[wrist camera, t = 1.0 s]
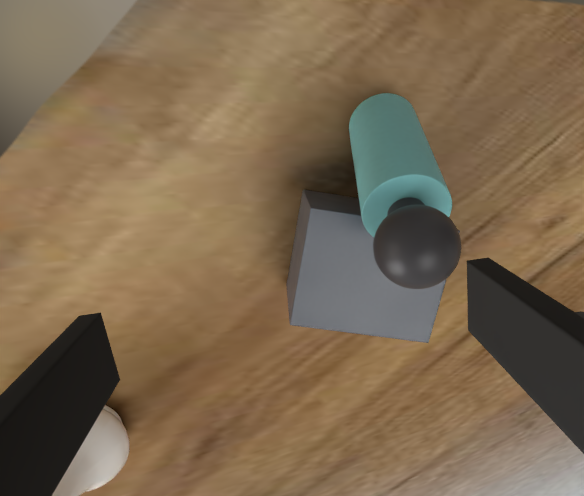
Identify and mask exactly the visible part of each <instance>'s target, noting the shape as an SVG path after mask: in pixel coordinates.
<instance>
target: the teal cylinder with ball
mask: <svg viewBox="0 0 584 496" xmlns="http://www.w3.org/2000/svg"><path fill="white" fill-rule="evenodd" d="M349 135H350V141H351V148H352V155H353V162H354V169H355V175H356V182H357V189H358V196H359V202H360V209H361V216H362V221H363V224H364V227H365V228H366V230H367V231H368V233H369V234H370V235H371V236H373V237H374V241H373V252H374V257H375V261H376V263H377V265H378V267H379V269H380V271H381V272H382V273H383V274H384V275H385V276H386V277H387V278H388V279H389V280H390V281H392V282H393V283H395V284H397V285H399V286H402V287H405V288H410V289H425V288H429V287H433V286H435V285H437V284H439V283H441V282H442V281H444V280H445V279H446V278H448V277H449V276H450V274H451V273H452V272H453V271H454V269H455V268H456V266H457V264H458V261H459V258H460V254H461V240H460V235H459V232H458V230H457V228H456V226H455V224H454V223H453V222H452V220H451V219H450V218H449V216H450V213H451V210H452V199H451V195H450V193H449V190H448V188H447V186H446V183H445V181H444V179H443V176H442V174H441V172H440V169H439V167H438V164H437V162H436V160H435V157H434V155H433V153H432V150H431V148H430V146H429V143H428V141H427V139H426V136H425V134H424V132H423V129H422V127H421V125H420V122H419V120H418V118H417V115H416V113H415V111H414V108H413V107H412V105H411V104H410V103H409V102H408V101H407V100H406V99H405V98H403V97H401V96H399V95H396V94H391V93H383V94H377V95H374V96H372V97H369V98H368V99H366V100H364V101H363V102H362V103H361V104H360V105H359V106H358V107H357V108H356V109H355V111H354V112H353V114H352V116H351V119H350V123H349Z"/></svg>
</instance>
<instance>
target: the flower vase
mask: <svg viewBox="0 0 584 496" xmlns="http://www.w3.org/2000/svg"><path fill="white" fill-rule="evenodd" d="M129 450H130V446H129V437H128V434H127V431H126V428H125V427H124V425H123V423H122V420H121V418H120V416H119V415H118V414H117V412H115V411H114V410H113V409H112V408H110V407H108V406H106V405H105V406H104V408H103V410H102V411H101V413H100V415H99V416H98V418H97V420H96V421H95V423H94V425H93V427H92V428H91V430H90V432H89V433H88V435H87V437H86V438H85V440H84V442H83V444H82V445H81V447H80V449H79V450H78V452H77V454H76V455H75V457H74V459H73V461H72V462H71V464H70V466H69V467H68V469H67V471H66V472H65V474H64V476H63V478H62V479H61V481H60V483H59V484H58V486H57V488H56V489H55V491H54V493H53V495H52V496H80V495H81V494H82V493H84V492H86V491H91V490H94V489H96V488H99V487H101V486H103V485H105V484H106V483H108V482H109V481H110V480H112V479H113V478H114V477H115V476H116V475H117V474H118V473H119V472H120V470H121V469H122V467H123V466H124V465H125V463H126V461H127V458H128V454H129Z"/></svg>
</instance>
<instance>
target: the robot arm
mask: <svg viewBox="0 0 584 496" xmlns="http://www.w3.org/2000/svg"><path fill="white" fill-rule="evenodd" d="M467 289H468V330H469V331H470V333H471V334H472V335H473V336H474V337H475V338H476V339H477V340H478V341H479V342H480V343H481V344H482V345H483V346H484V348H485V349H486V350H487V351H488V352H489V353H490V354H491V355H492V356H493V357H494V358H495V359H496V360H497V361H498V363H499V364H500V365H501V366H502V367H503V368H504V369H505V370H506V371H507V372H508V373H509V374H510V375H511V376H512V377H513V379H514V380H515V381H516V382H517V383H518V384H519V385H520V386H521V387H522V388H523V389H524V390H525V391H526V392H527V394H528V395H529V396H530V397H531V398H532V399H533V400H534V401H535V402H536V403H537V404H538V405H539V406H540V407H541V409H542V410H543V411H544V412H545V413H546V414H547V415H548V416H549V417H550V418H551V419H552V420H553V421H554V422H555V424H556V425H557V426H558V427H559V428H560V429H561V430H562V431H563V432H564V433H565V434H566V435H567V436H568V437H569V439H570V440H571V441H572V442H573V443H574V444H575V445H576V446H577V447H578V448H579V449H580V450H581V451H582V452H583V454H584V312H573V311H571V310H570V309H568V308H567V307H565V306H563V305H562V304H560V303H559V302H557V301H556V300H554V299H552V298H551V297H549V296H548V295H546V294H545V293H543V292H541V291H540V290H538V289H537V288H535V287H534V286H532V285H530V284H529V283H527V282H526V281H524V280H523V279H521V278H519V277H518V276H516V275H515V274H513V273H512V272H510V271H508V270H507V269H505V268H504V267H502V266H501V265H499V264H497V263H496V262H494V261H493V260H491V259H490V258H483V259H476V260H469V261H467ZM119 381H120V378H119V374H118V371H117V367H116V364H115V360H114V357H113V354H112V350H111V347H110V343H109V340H108V336H107V333H106V329H105V326H104V322H103V319H102V316H101V313H96V314H89V315H82V316H79V317H78V318H77V319H76V320H75V321H74V322H73V323H72V324H71V325H70V326H69V327H68V328H67V329H66V330H65V331H64V332H63V333H62V334H61V335H60V336H59V337H58V338H57V339H56V340H55V341H54V342H53V343H52V344H51V345H50V346H49V347H48V348H47V349H46V350H45V351H44V352H43V353H42V354H41V355H40V356H39V357H38V358H37V359H36V360H35V361H34V362H33V363H32V364H31V365H30V366H29V367H28V368H27V369H26V370H25V371H24V372H23V373H22V374H21V375H20V376H19V377H18V378H17V379H16V380H15V381H14V382H13V383H12V384H11V385H10V386H9V387H8V388H7V389H6V390H5V391H4V392H3V393H2V394H1V395H0V496H52V495H53V493H54V491H55V489H56V488H57V486H58V484H59V483H60V481H61V479H62V478H63V476H64V474H65V472H66V471H67V469H68V467H69V466H70V464H71V462H72V461H73V459H74V457H75V455H76V454H77V452H78V450H79V449H80V447H81V445H82V444H83V442H84V440H85V438H86V437H87V435H88V433H89V432H90V430H91V428H92V427H93V425H94V423H95V421H96V420H97V418H98V416H99V415H100V413H101V411H102V410H103V408H104V406H105V404H106V403H107V401H108V399H109V398H110V396H111V394H112V393H113V391H114V389H115V387H116V386H117V384H118V382H119Z"/></svg>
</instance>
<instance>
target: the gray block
mask: <svg viewBox="0 0 584 496" xmlns="http://www.w3.org/2000/svg"><path fill="white" fill-rule="evenodd" d="M457 230H458V229H457ZM458 232H460V231H459V230H458ZM373 241H374V237H373V236H371V235H370V234H369V233H368V231H367V230H366V228H365V227H364V224H363V221H362V216H361V209H360V202H359V198H354V197H348V196H341V195H335V194H329V193H322V192H316V191H310V190H303V192H302V198H301V203H300V209H299V215H298V221H297V227H296V233H295V238H294V244H293V250H292V256H291V262H290V268H289V273H288V279H287V296H288V308H289V320H290V325H294V326H302V327H310V328H317V329H325V330H333V331H341V332H348V333H356V334H364V335H372V336H379V337H387V338H395V339H403V340H410V341H418V342H426V343H428V342H429V339H430V335H431V332H432V328H433V325H434V321H435V317H436V314H437V310H438V307H439V303H440V300H441V296H442V293H443V289H444V286H445V282H446V279H445V280H444V281H442V282H441V283H439V284H437V285H435V286H433V287H429V288H425V289H410V288H405V287H402V286H399V285H397V284H395V283H393V282H392V281H390V280H389V279H388V278H387V277H386V276H385V275H384V274H383V273H382V272H381V271H380V269H379V267H378V265H377V263H376V261H375V257H374V252H373Z"/></svg>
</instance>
